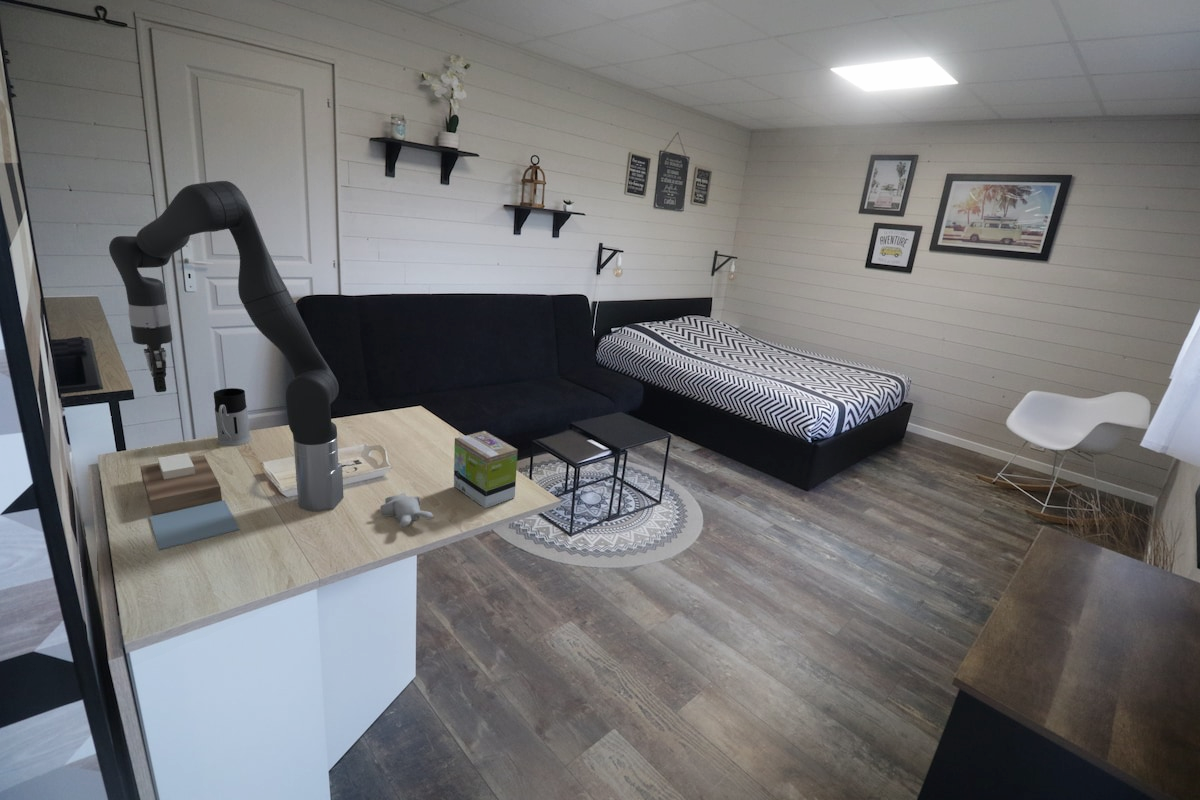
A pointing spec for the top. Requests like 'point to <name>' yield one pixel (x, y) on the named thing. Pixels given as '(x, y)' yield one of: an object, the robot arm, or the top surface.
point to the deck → (180, 487)
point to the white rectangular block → (176, 466)
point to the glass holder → (231, 417)
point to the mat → (192, 524)
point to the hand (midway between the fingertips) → (160, 391)
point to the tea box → (485, 468)
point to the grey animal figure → (404, 509)
